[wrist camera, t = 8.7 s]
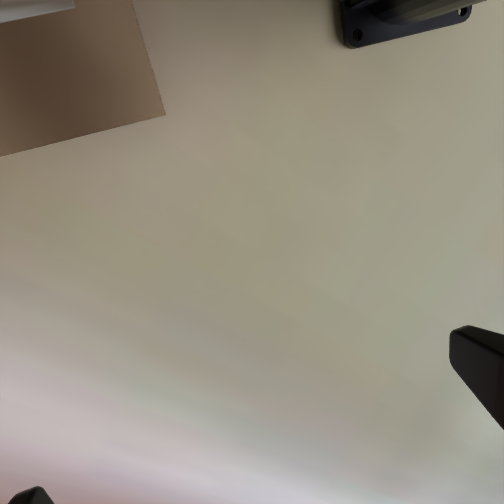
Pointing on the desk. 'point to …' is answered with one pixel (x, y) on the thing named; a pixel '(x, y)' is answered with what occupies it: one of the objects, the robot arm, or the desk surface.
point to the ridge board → (71, 71)
